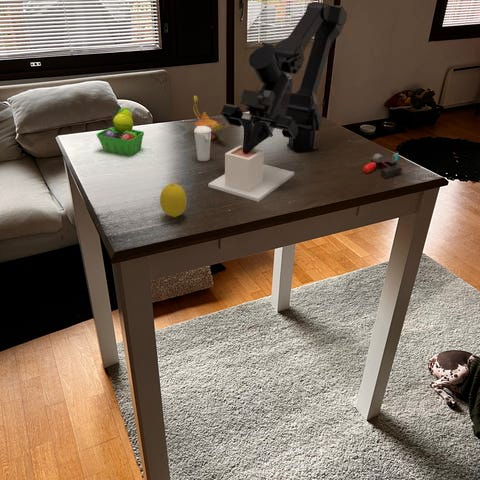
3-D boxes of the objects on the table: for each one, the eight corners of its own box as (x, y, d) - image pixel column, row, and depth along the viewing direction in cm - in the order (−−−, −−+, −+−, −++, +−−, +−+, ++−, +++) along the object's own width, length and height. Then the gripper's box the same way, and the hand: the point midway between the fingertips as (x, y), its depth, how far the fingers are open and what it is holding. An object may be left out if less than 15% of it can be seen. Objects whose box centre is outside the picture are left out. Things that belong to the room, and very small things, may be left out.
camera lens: (263, 125, 155) (265, 78, 147) (266, 118, 161) (268, 72, 153) (288, 127, 153) (292, 79, 146) (290, 119, 160) (293, 73, 152)
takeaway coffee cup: (212, 163, 127) (211, 127, 122) (193, 161, 128) (191, 125, 123) (216, 157, 131) (216, 121, 126) (197, 155, 132) (196, 120, 127)
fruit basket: (97, 152, 133) (91, 112, 127) (115, 141, 140) (110, 103, 134) (132, 158, 130) (127, 117, 124) (149, 147, 137) (145, 108, 131)
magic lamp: (216, 149, 136) (216, 111, 130) (184, 132, 148) (183, 96, 142) (236, 145, 139) (236, 107, 134) (203, 128, 152) (202, 93, 146)
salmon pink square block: (241, 161, 115) (241, 149, 114) (257, 165, 113) (257, 153, 112) (231, 166, 112) (231, 154, 111) (247, 171, 110) (247, 159, 109)
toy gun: (378, 159, 133) (381, 143, 130) (406, 176, 123) (410, 159, 121) (348, 164, 129) (351, 147, 127) (374, 182, 120) (378, 164, 117)
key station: (247, 162, 128) (248, 131, 123) (294, 175, 122) (296, 142, 117) (208, 186, 115) (207, 152, 110) (258, 201, 109) (259, 166, 104)
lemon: (162, 211, 104) (159, 178, 100) (187, 210, 105) (186, 177, 100) (160, 224, 100) (157, 189, 95) (187, 223, 100) (185, 188, 96)
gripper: (224, 68, 110) (197, 128, 108) (296, 80, 102) (268, 145, 100) (242, 95, 120) (217, 150, 118) (309, 108, 112) (283, 167, 110)
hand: (244, 152), depth 111 cm, fingers closed, pressing on salmon pink square block
